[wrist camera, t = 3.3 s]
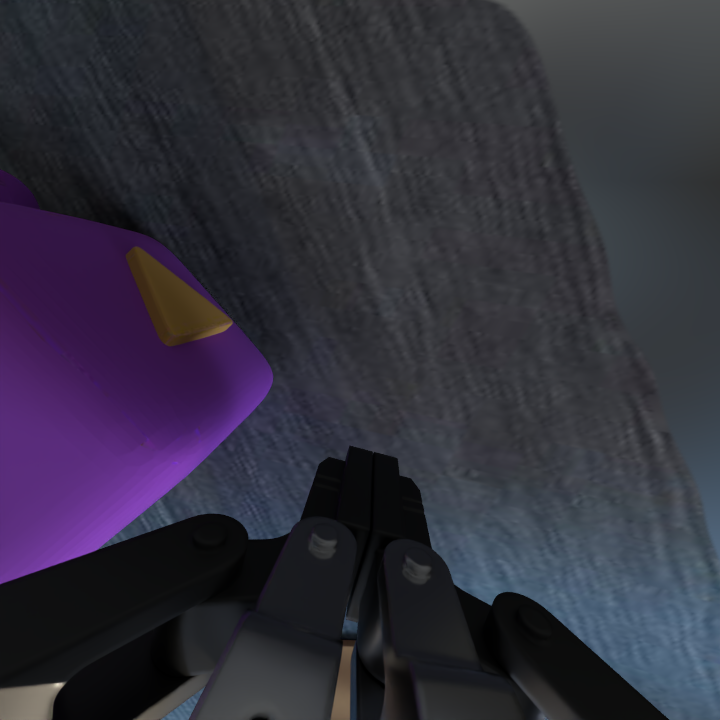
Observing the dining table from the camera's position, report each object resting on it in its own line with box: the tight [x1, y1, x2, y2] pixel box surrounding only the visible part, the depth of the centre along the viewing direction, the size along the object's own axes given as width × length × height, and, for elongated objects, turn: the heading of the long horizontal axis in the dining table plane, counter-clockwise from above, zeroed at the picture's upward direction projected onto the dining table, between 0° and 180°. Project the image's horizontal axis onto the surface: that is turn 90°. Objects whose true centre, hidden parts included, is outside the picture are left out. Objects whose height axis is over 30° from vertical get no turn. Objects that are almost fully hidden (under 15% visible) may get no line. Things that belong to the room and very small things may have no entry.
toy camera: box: [0, 169, 273, 584], centre depth 13 cm, size 11×14×10 cm
